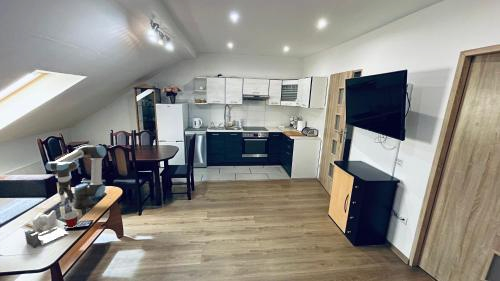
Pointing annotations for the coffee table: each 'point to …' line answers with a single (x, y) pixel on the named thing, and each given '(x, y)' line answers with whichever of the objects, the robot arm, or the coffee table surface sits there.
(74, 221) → the plastic cup
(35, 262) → the coffee table surface
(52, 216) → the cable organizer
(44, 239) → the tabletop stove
